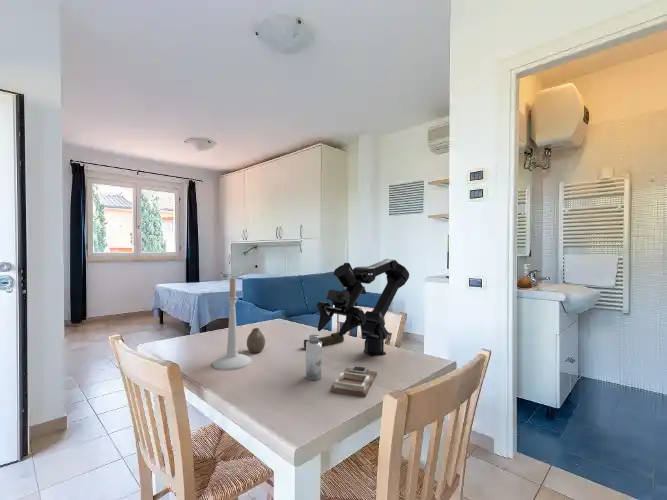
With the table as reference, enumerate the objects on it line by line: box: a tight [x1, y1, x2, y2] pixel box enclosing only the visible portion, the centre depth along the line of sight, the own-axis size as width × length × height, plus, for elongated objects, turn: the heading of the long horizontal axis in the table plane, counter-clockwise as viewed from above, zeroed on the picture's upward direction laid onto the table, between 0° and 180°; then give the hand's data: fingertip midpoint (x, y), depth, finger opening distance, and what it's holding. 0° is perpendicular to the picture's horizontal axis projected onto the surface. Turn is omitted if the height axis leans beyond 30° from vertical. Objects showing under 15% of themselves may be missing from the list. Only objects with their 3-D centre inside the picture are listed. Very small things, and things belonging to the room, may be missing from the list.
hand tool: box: [303, 331, 345, 350], centre depth 140 cm, size 19×4×5 cm, turn 123°
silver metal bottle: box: [305, 334, 323, 381], centre depth 106 cm, size 5×5×13 cm
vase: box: [246, 327, 266, 354], centre depth 131 cm, size 7×7×9 cm
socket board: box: [330, 365, 378, 398], centre depth 103 cm, size 17×10×2 cm, turn 162°
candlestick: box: [212, 277, 252, 371], centre depth 118 cm, size 13×13×30 cm
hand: (328, 333), depth 111 cm, fingers open, 9 cm apart
